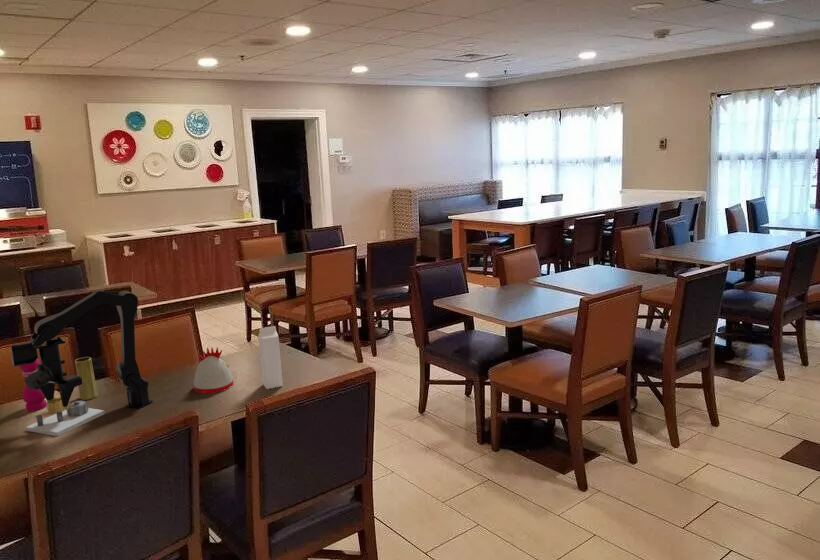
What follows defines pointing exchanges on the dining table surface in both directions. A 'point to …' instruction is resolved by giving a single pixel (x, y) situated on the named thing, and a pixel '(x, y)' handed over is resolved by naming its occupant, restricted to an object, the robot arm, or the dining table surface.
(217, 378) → the kitchen timer
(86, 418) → the gear board
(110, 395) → the dining table surface
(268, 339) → the milk
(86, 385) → the vase
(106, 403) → the dining table surface
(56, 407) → the gear
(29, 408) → the pepper mill
